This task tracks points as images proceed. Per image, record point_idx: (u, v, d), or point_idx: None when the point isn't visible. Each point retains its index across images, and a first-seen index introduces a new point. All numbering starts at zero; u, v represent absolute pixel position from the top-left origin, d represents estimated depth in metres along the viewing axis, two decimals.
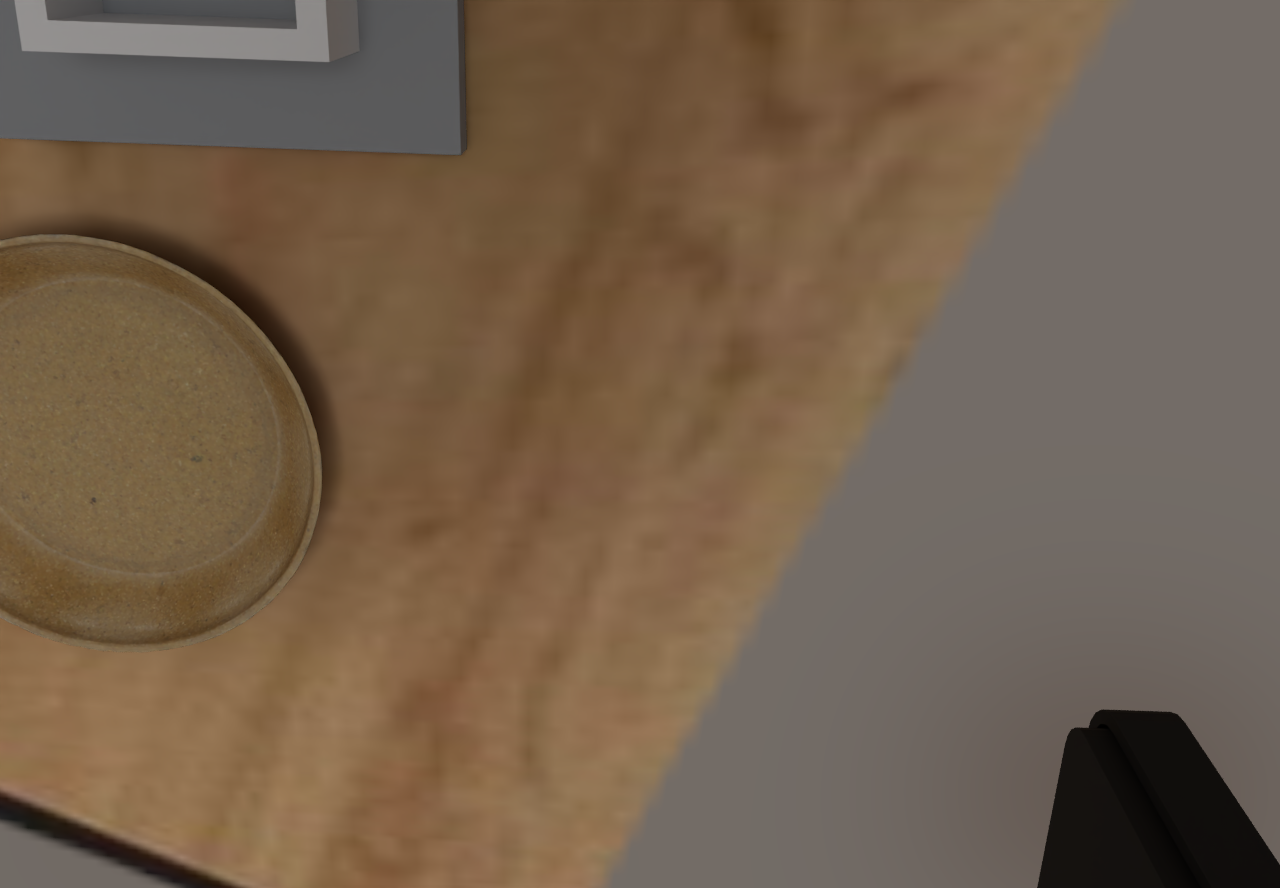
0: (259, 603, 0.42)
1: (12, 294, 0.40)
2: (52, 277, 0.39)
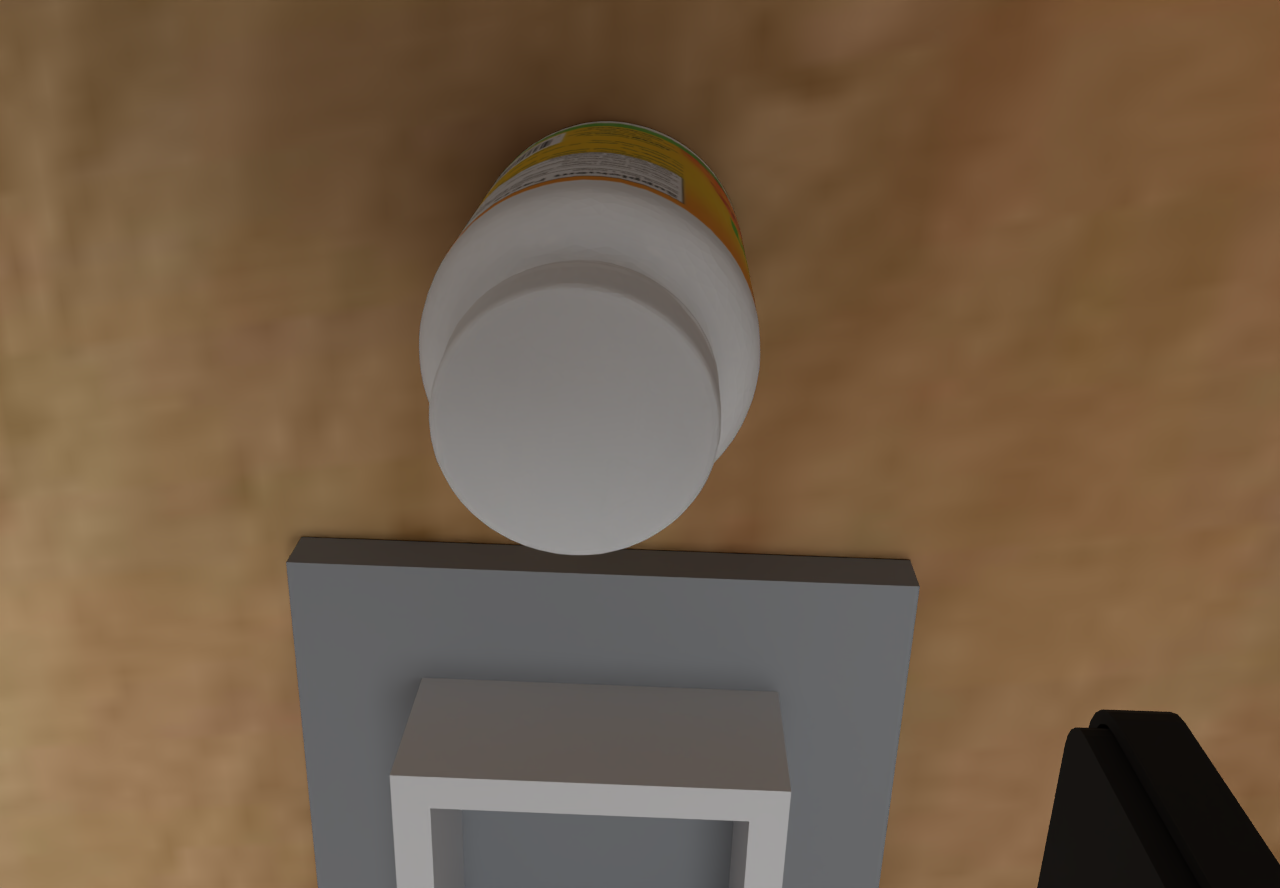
0: None
1: None
2: None
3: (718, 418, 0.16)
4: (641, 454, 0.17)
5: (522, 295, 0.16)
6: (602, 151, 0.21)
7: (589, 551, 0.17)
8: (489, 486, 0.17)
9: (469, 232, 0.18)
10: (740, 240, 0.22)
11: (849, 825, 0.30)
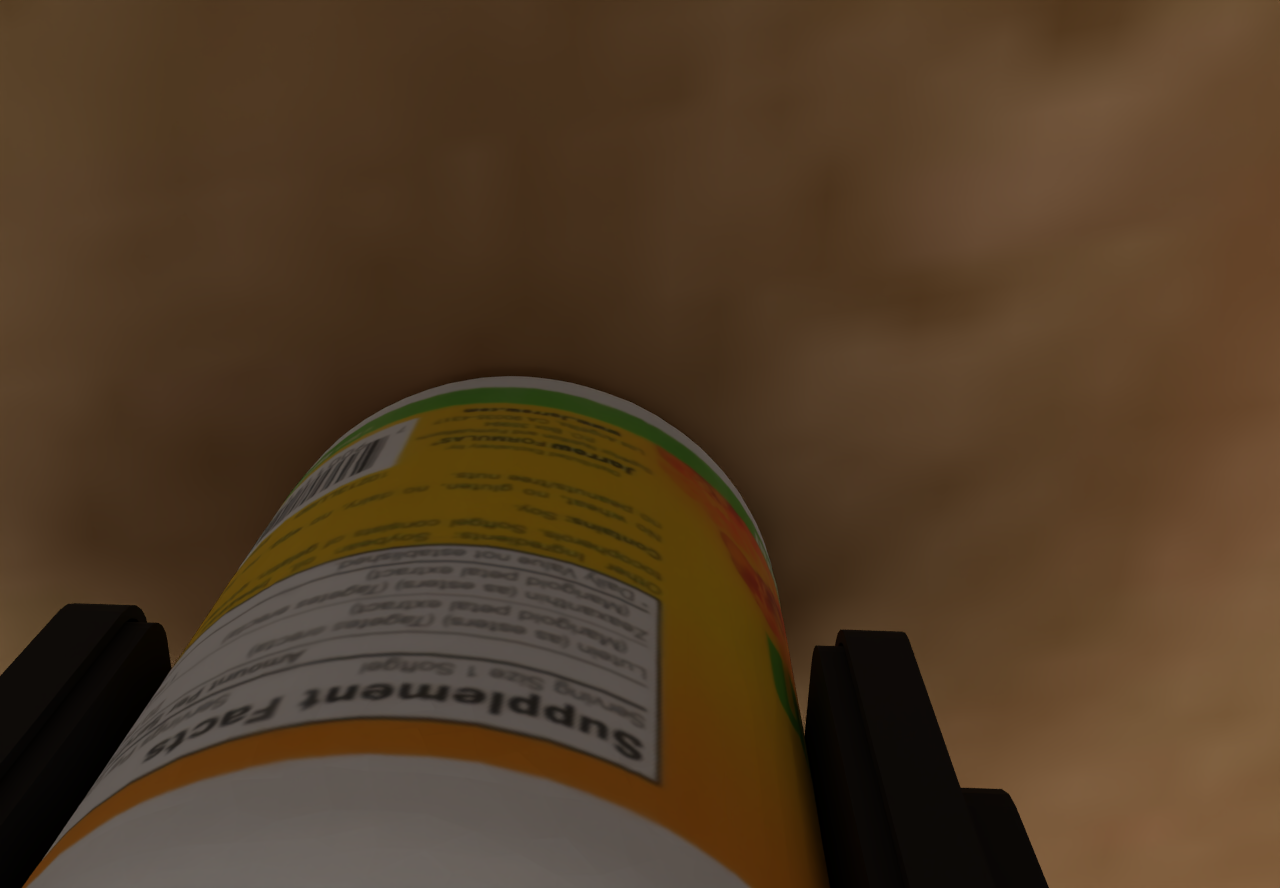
0: None
1: None
2: None
3: None
4: None
5: None
6: (466, 540, 0.09)
7: None
8: None
9: None
10: (790, 689, 0.10)
11: None
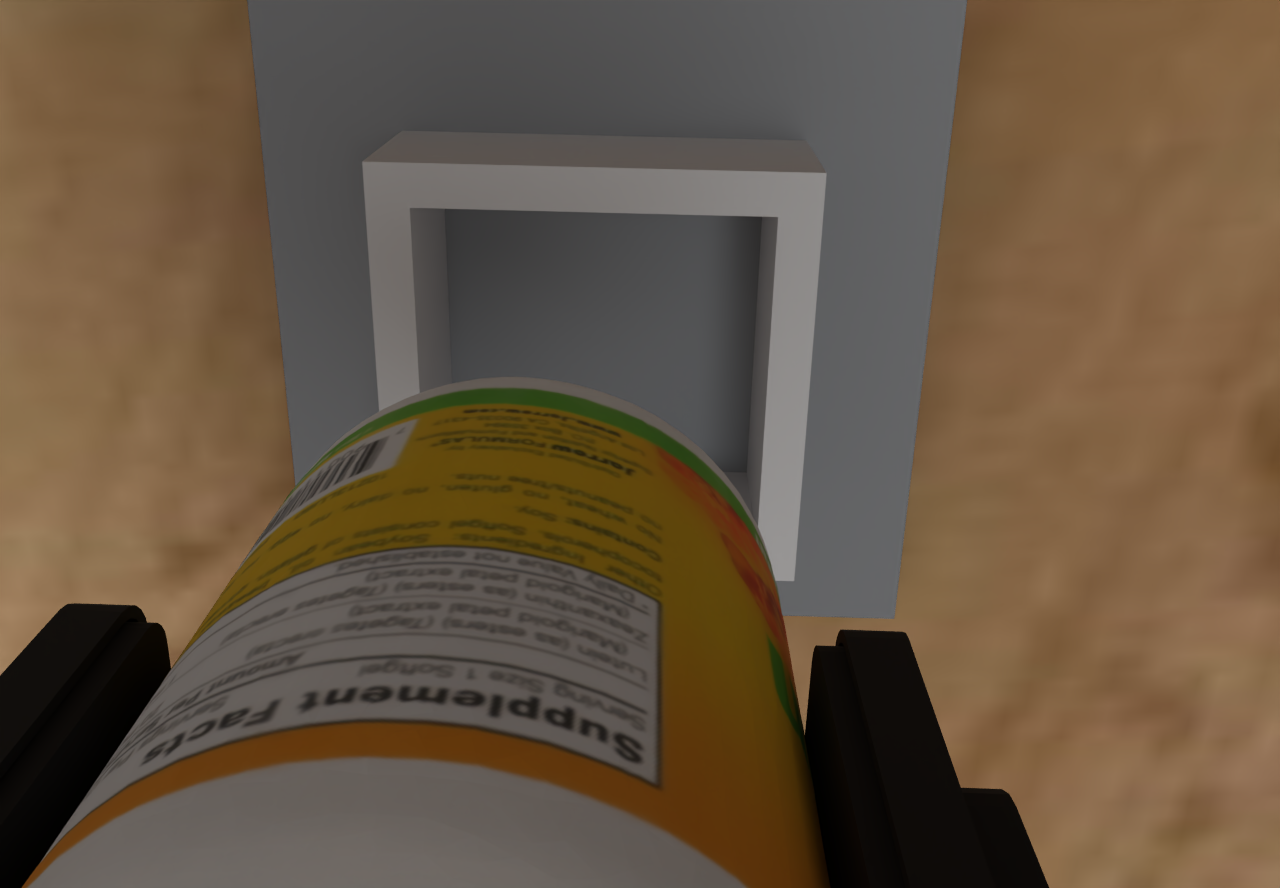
0: None
1: None
2: None
3: None
4: None
5: None
6: (466, 542, 0.09)
7: None
8: None
9: None
10: (790, 691, 0.10)
11: (887, 322, 0.26)
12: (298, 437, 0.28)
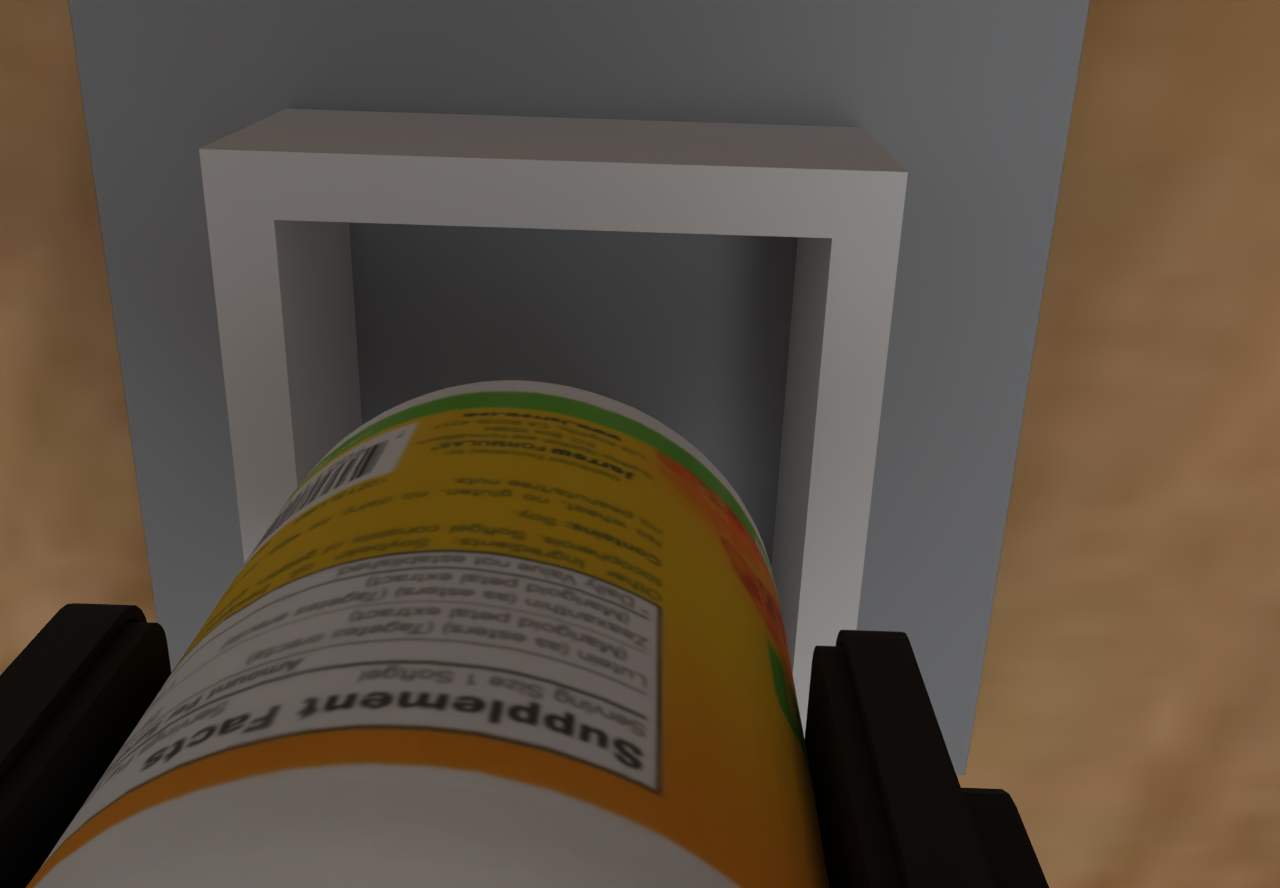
0: None
1: None
2: None
3: None
4: None
5: None
6: (467, 546, 0.09)
7: None
8: None
9: None
10: (790, 695, 0.10)
11: (969, 382, 0.19)
12: (154, 532, 0.20)
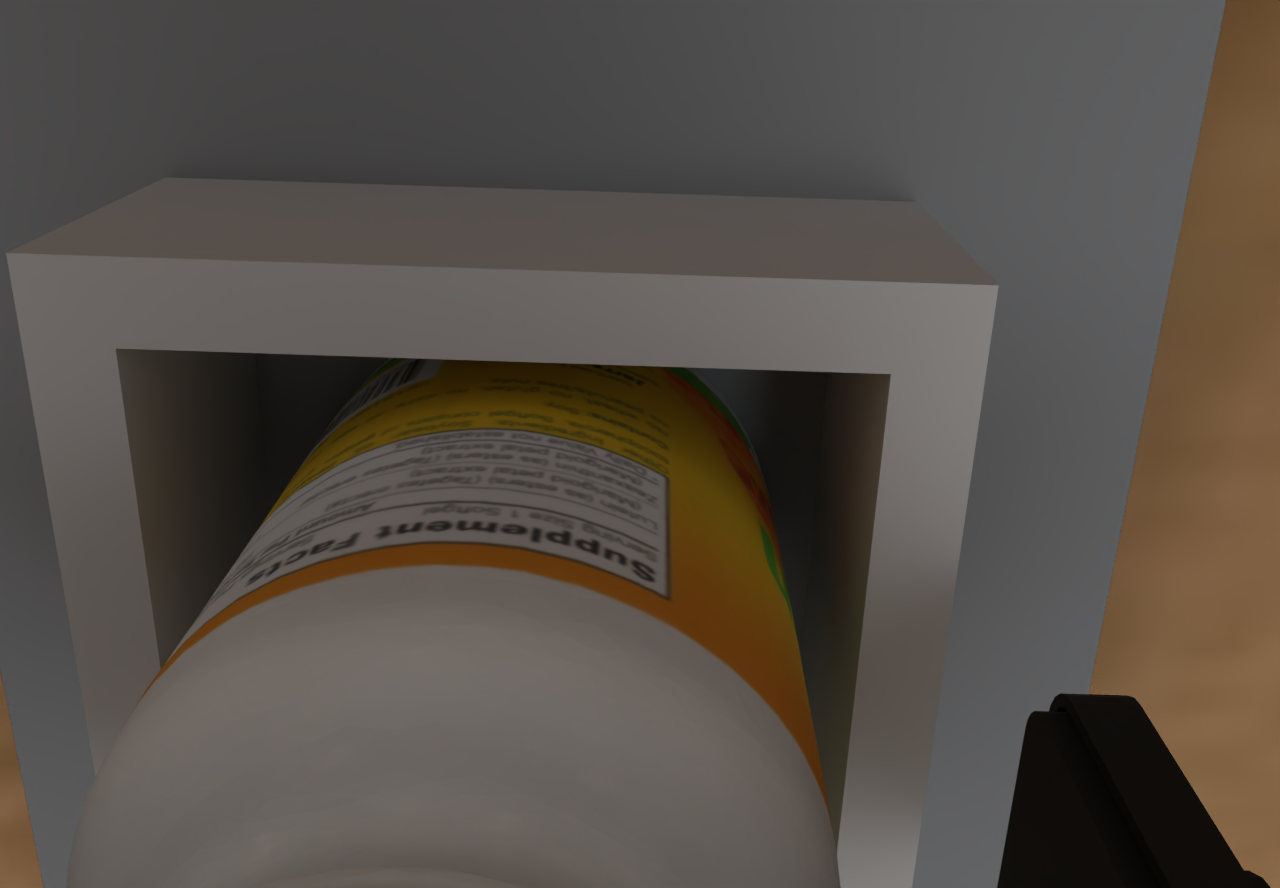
0: None
1: None
2: None
3: None
4: None
5: None
6: (505, 425, 0.10)
7: None
8: None
9: (160, 698, 0.08)
10: (779, 567, 0.11)
11: (1047, 520, 0.15)
12: (19, 699, 0.16)
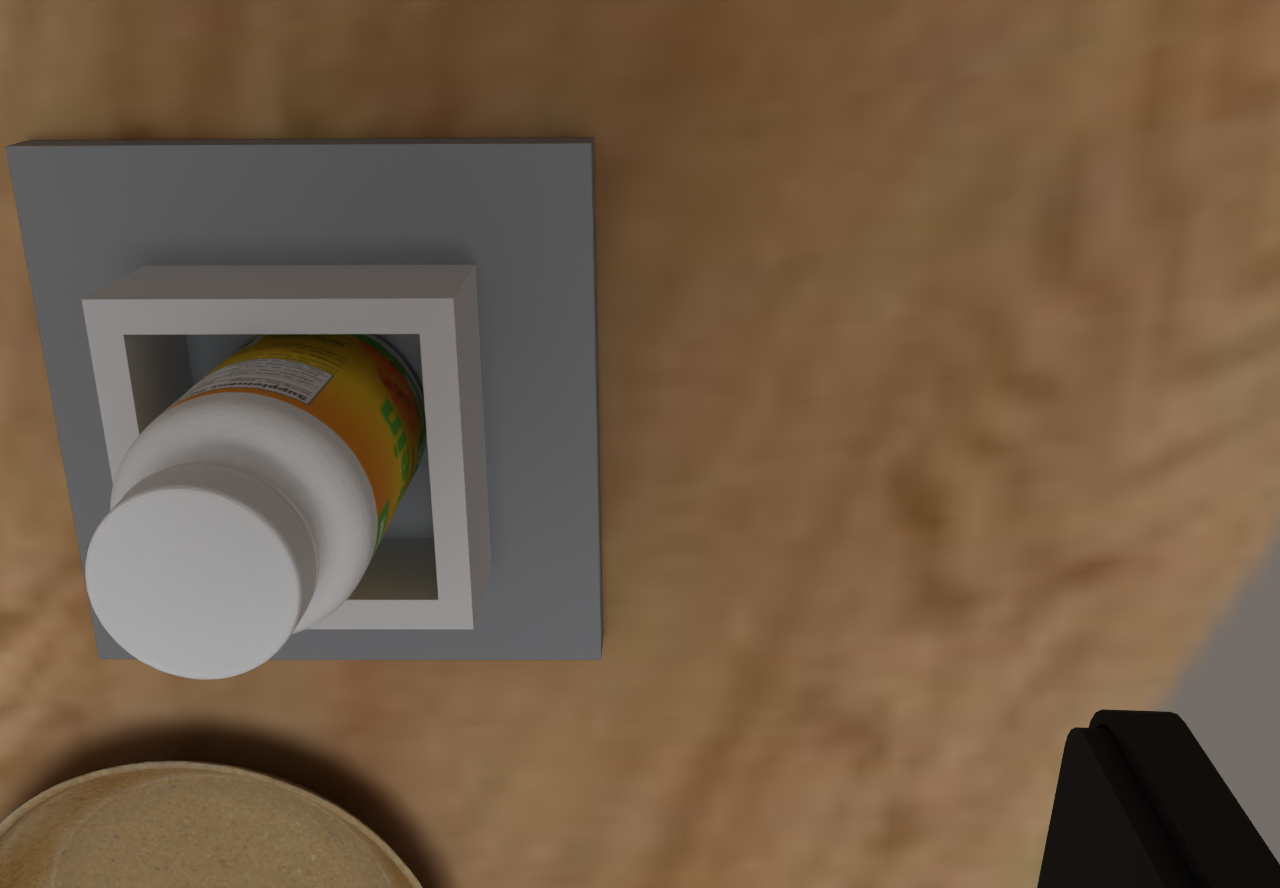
0: None
1: (111, 794, 0.37)
2: (154, 777, 0.36)
3: (296, 576, 0.22)
4: (244, 604, 0.23)
5: (140, 495, 0.22)
6: (270, 358, 0.27)
7: (216, 676, 0.23)
8: (135, 631, 0.23)
9: (139, 435, 0.24)
10: (394, 416, 0.28)
11: (561, 409, 0.31)
12: (80, 519, 0.33)
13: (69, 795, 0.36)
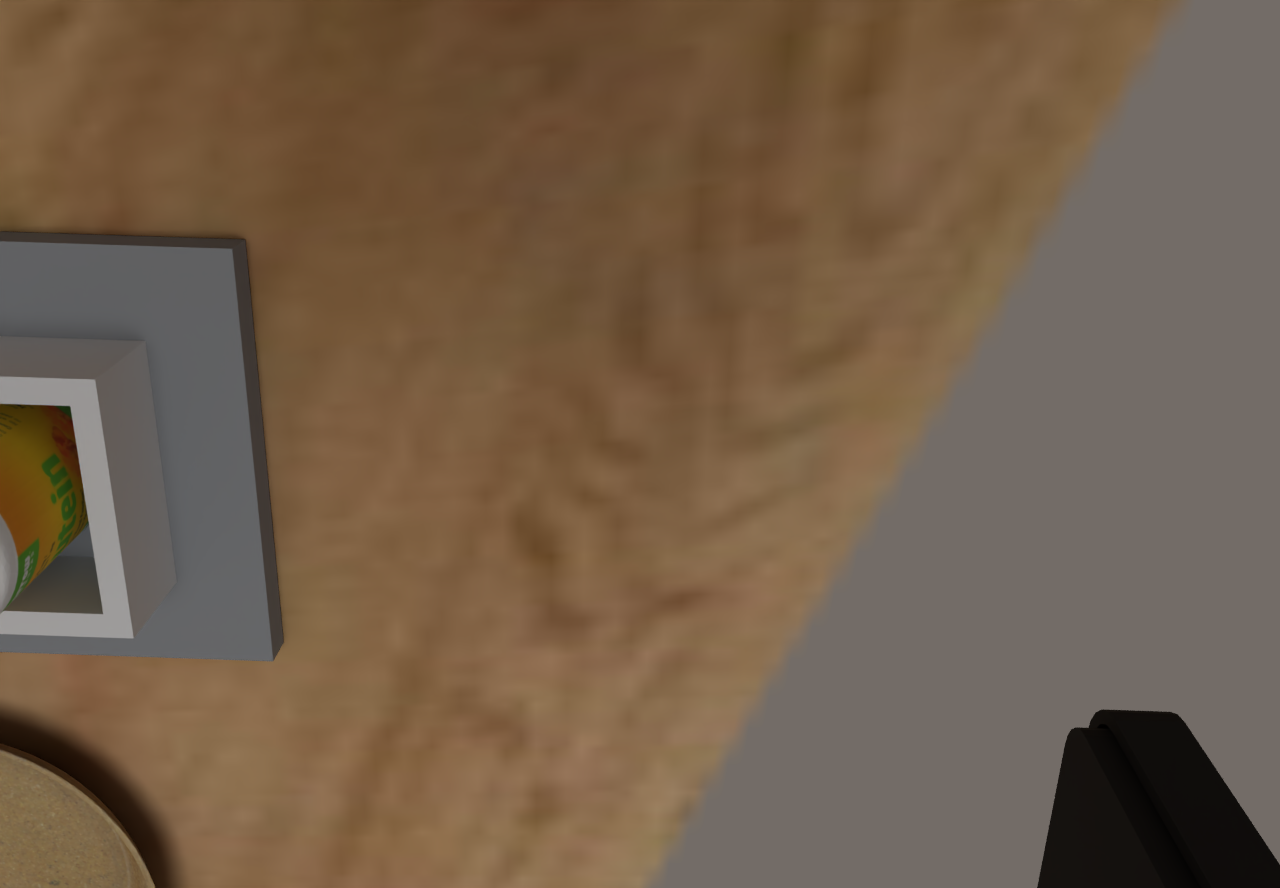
0: None
1: None
2: None
3: None
4: None
5: None
6: None
7: None
8: None
9: None
10: (58, 468, 0.35)
11: (224, 458, 0.38)
12: None
13: None
